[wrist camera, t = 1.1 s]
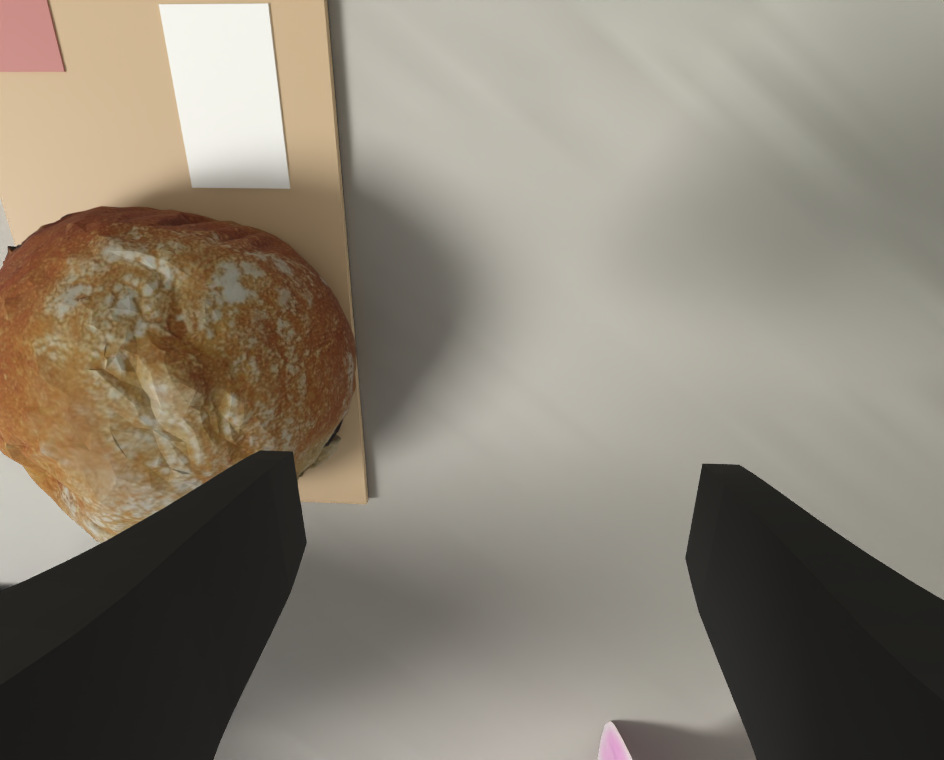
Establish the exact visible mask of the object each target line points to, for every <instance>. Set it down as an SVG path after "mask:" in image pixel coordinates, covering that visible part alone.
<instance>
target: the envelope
mask: <svg viewBox="0 0 944 760" xmlns="http://www.w3.org/2000/svg"><path fill="white" fill-rule="evenodd" d="M0 198H1V201H2V204H3V207H4V210H5V214H6V217H7V220H8V223H9V226H10V230H11V233H12V236H13V239H14V243H15V246H17V245H21V244H22V242H23V241H24V240H26V239H27V238H28V236H30V235H31V234H33V233H34V232H35V231H37V230H38V229H39V228H40V227H41V226H43V225H46V224H49V223H54V222H56V221H58V220H60V218H61V217H63V216H65V215H67V214H71V213H76V212H81V211H86V210H89V209H92V208H96V207H100V206H109V207H149V208H154V209H159V210H170V209H171V210H176V211H180V212H186V213H193V214H198V215H202V216H206V217H209V218H212V219H215V220H218V221H233V222H236V223H238V224H240V225H243V226H245V225H246V226H250V227H254V228H258V229H260V230H263V231H266V232H268V233H270V234H272V235H274V236H276V237H278V238H279V239H281V240H282V241H284V242H286V243H287V244H289V245H290V246H291V247H292V248H293V249H294V250H295V251H296V252H297V253H298V254H299V255H300V256H301V257H303V258H304V259H305V260H306V261H307V262H308V263H309V264H310V265H311V266H312V267H313V268H314V269H315V270H316V271H317V273H318V274H319V275H320V276H321V277H322V278H323V279H324V280H325V282H326V283H327V284H328V286H329V287H330V289H331V290H332V292H333V293H334V295H335V296H336V298H337V299H338V301H339V303H340V306H341V308H342V310H343V312H344V314H345V316H346V318H347V320H348V322H349V324H350V327H351V330H352V333H353V335H354V338H355V330H354V318H353V306H352V294H351V282H350V270H349V258H348V246H347V234H346V222H345V210H344V198H343V186H342V173H341V161H340V149H339V137H338V125H337V113H336V101H335V89H334V77H333V65H332V53H331V41H330V29H329V17H328V5H327V0H0ZM355 344H356V342H355ZM355 377H356V389H355V392H354V393H353V396H352V400H351V405H350V409H349V412H348V414H347V415H346V416H345V417H344V418H343V422H342V424H341V427H340V430H339V432H338V433H337V435H338V436H339V437H340V438H341V441H340V444H339V446H338V448H337V450H336V452H335V453H334V454H333V455H332V456H331V457H330V458H329V459H328V460H326V461H325V462H323V463H322V464H320V465H318V466H316V467H315V468H311V469H308V470H306V472H305V473H304V475H303V476H302V477H299V480H298V489H299V496H300V502H322V503H347V504H367V502H368V487H367V475H366V463H365V451H364V439H363V427H362V415H361V403H360V391H359V378H358V366H357V357H356V371H355Z"/></svg>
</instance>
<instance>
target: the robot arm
mask: <svg viewBox="0 0 944 760" xmlns="http://www.w3.org/2000/svg"><path fill="white" fill-rule="evenodd" d="M305 546H306V536H305V529H304V523H303V516H302V509H301V502H300V496H299V489H298V482H297V476H296V469H295V462H294V455H293V451H264V450H260V451H258V452H256V453H254V454H252V455H250V456H248V457H246V458H244V459H243V460H241V461H239V462H238V463H236V464H234V465H233V466H231V467H229V468H228V469H226V470H224V471H223V472H221V473H220V474H218V475H216V476H215V477H213V478H212V479H210V480H208V481H207V482H205V483H204V484H202V485H200V486H199V487H197V488H195V489H194V490H192V491H191V492H189V493H187V494H186V495H184V496H182V497H181V498H179V499H178V500H176V501H174V502H173V503H171V504H169V505H168V506H166V507H164V508H163V509H161V510H159V511H158V512H156V513H154V514H152V515H151V516H149V517H147V518H145V519H144V520H142V521H140V522H138V523H137V524H135V525H133V526H131V527H129V528H128V529H126V530H124V531H122V532H121V533H119V534H117V535H115V536H114V537H112V538H110V539H108V540H107V541H105V542H103V543H101V544H99V545H97V546H95V547H93V548H92V549H90V550H88V551H86V552H84V553H82V554H80V555H78V556H76V557H74V558H72V559H70V560H68V561H66V562H64V563H62V564H59V565H57V566H55V567H53V568H51V569H49V570H47V571H45V572H43V573H41V574H38V575H36V576H34V577H32V578H30V579H28V580H26V581H23V582H21V583H19V584H17V585H14V586H12V587H10V588H7V589H5V590H2V591H0V760H213V759H214V756H215V754H216V751H217V748H218V746H219V743H220V740H221V738H222V736H223V733H224V731H225V729H226V727H227V724H228V722H229V720H230V717H231V715H232V713H233V711H234V709H235V707H236V705H237V702H238V700H239V698H240V696H241V694H242V692H243V690H244V688H245V686H246V684H247V682H248V680H249V678H250V676H251V674H252V672H253V670H254V668H255V666H256V663H257V661H258V659H259V657H260V655H261V653H262V651H263V649H264V647H265V645H266V643H267V641H268V639H269V637H270V635H271V633H272V631H273V629H274V626H275V624H276V622H277V620H278V618H279V616H280V614H281V612H282V610H283V608H284V605H285V603H286V601H287V599H288V597H289V595H290V592H291V589H292V586H293V584H294V581H295V578H296V575H297V572H298V569H299V566H300V562H301V559H302V556H303V553H304V550H305ZM686 562H687V567H688V571H689V575H690V579H691V584H692V588H693V592H694V595H695V599H696V603H697V607H698V610H699V613H700V616H701V619H702V621H703V624H704V626H705V629H706V632H707V634H708V637H709V639H710V642H711V644H712V647H713V649H714V652H715V655H716V657H717V660H718V662H719V665H720V667H721V670H722V672H723V675H724V677H725V680H726V682H727V684H728V687H729V689H730V692H731V694H732V697H733V699H734V702H735V704H736V707H737V709H738V712H739V714H740V717H741V719H742V722H743V724H744V727H745V729H746V732H747V734H748V737H749V739H750V742H751V745H752V748H753V750H754V753H755V756H756V759H757V760H944V600H942V599H941V598H939V597H937V596H935V595H934V594H932V593H930V592H928V591H927V590H925V589H923V588H922V587H920V586H918V585H917V584H915V583H913V582H912V581H910V580H908V579H907V578H905V577H904V576H902V575H900V574H899V573H897V572H896V571H894V570H893V569H891V568H889V567H888V566H886V565H885V564H883V563H882V562H880V561H878V560H877V559H875V558H874V557H872V556H870V555H869V554H867V553H866V552H864V551H863V550H861V549H860V548H858V547H857V546H855V545H854V544H852V543H851V542H849V541H848V540H846V539H845V538H844V537H842V536H841V535H839V534H838V533H836V532H835V531H833V530H832V529H830V528H829V527H828V526H826V525H825V524H823V523H822V522H820V521H819V520H818V519H816V518H815V517H813V516H812V515H811V514H809V513H808V512H806V511H805V510H804V509H802V508H801V507H799V506H798V505H797V504H795V503H794V502H792V501H791V500H790V499H788V498H787V497H786V496H784V495H783V494H781V493H780V492H779V491H777V490H776V489H774V488H773V487H772V486H770V485H769V484H767V483H766V482H765V481H763V480H762V479H760V478H759V477H757V476H756V475H754V474H753V473H751V472H750V471H748V470H747V469H745V468H743V467H742V466H740V465H729V464H702V469H701V475H700V480H699V486H698V491H697V497H696V502H695V508H694V513H693V519H692V524H691V530H690V535H689V541H688V546H687V552H686Z"/></svg>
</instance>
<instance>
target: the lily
mask: <svg viewBox="0 0 944 760" xmlns="http://www.w3.org/2000/svg"><path fill="white" fill-rule="evenodd" d="M598 760H633V759H632V757H631V755H630V753H629V751H628V749H627V747H626V745H625V743H624V741H623V739H622V738H621V736H620V734H619V732H618V730H617V728H616V727H615V725H614V724H613V723H612V722H611V721H609V722H608V723H606V724H605V725H604V729H603V733H602V736H601V741H600V747H599V753H598Z"/></svg>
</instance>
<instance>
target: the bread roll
mask: <svg viewBox="0 0 944 760" xmlns="http://www.w3.org/2000/svg"><path fill="white" fill-rule="evenodd" d="M356 357H357V354H356V344H355V338H354V335H353V333H352V330H351V327H350V324H349V322H348V320H347V318H346V316H345V314H344V312H343V310H342V308H341V306H340V303H339V301H338V299H337V298H336V296H335V295H334V293H333V292H332V290H331V289H330V287H329V286H328V284H327V283H326V282H325V280H324V279H323V278H322V277H321V276H320V275H319V274H318V273H317V271H316V270H315V269H314V268H313V267H312V266H311V265H310V264H309V263H308V262H307V261H306V260H305V259H304V258H303V257H301V256H300V255H299V254H298V253H297V252H296V251H295V250H294V249H293V248H292V247H291V246H290V245H289V244H287V243H286V242H284V241H282V240H281V239H279V238H278V237H276V236H274V235H272V234H270V233H268V232H266V231H263V230H260V229H258V228H254V227H250V226H246V225H245V226H243V225H240V224H238V223H236V222H233V221H218V220H215V219H212V218H209V217H206V216H202V215H198V214H193V213H186V212H180V211H176V210H171V209H170V210H159V209H154V208H149V207H109V206H100V207H96V208H92V209H89V210H86V211H81V212H76V213H71V214H67V215H65V216H63V217H61V218H60V220H58V221H56V222H54V223H49V224H46V225H43V226H41V227H40V228H39V229H38V230H37V231H35V232H34V233H33V234H31V235H30V236H28V238H27V239H26V240H24V241H23V242H22V244H21V245H17V246H16V247H12V246H8V254H7V256H6V258H5V261H3V266H2V268H1V270H0V450H1V451H2V453H3V454H4V455H6V456H7V457H9V458H11V459H12V460H14V461H16V462H18V463H19V464H21V465H23V467H24V468H25V469H26V471H27V472H28V474H29V475H30V477H31V478H32V479H33V480H34V481H35V482H36V484H37V485H38V486H39V487H40V488H41V489H42V490H44V491H45V492H46V493H47V494H48V495H49V496H50V497H51V498H52V499H53V500H54V501H55V502H56V503H57V504H58V506H59V507H60V508H61V509H62V510H63V511H64V512H65V513H66V514H67V515H68V516H69V517H70V518H72V519H73V520H74V521H75V522H76V523H77V524H78V525H79V526H81V528H82V529H84V530H85V531H86V532H87V533H89V534H90V535H91V536H92V537H93V538H94V539H95V540H96V541H98V542H102V543H103V542H105V541H107V540H108V539H110V538H112V537H114V536H115V535H117V534H119V533H121V532H122V531H124V530H126V529H128V528H129V527H131V526H133V525H135V524H137V523H138V522H140V521H142V520H144V519H145V518H147V517H149V516H151V515H152V514H154V513H156V512H158V511H159V510H161V509H163V508H164V507H166V506H168V505H169V504H171V503H173V502H174V501H176V500H178V499H179V498H181V497H182V496H184V495H186V494H187V493H189V492H191V491H192V490H194V489H195V488H197V487H199V486H200V485H202V484H204V483H205V482H207V481H208V480H210V479H212V478H213V477H215V476H216V475H218V474H220V473H221V472H223V471H224V470H226V469H228V468H229V467H231V466H233V465H234V464H236V463H238V462H239V461H241V460H243V459H244V458H246V457H248V456H250V455H252V454H254V453H256V452H258V451H260V450H264V451H293V455H294V462H295V469H296V476H297V482H298V480H299V477H302V476H303V475H304V473H305V472H306V470H308V469H311V468H315V467H316V466H318V465H320V464H322V463H323V462H325V461H326V460H328V459H329V458H330V457H331V456H332V455H333V454H334V453H335V452H336V450H337V448H338V446H339V444H340V441H341V438H340V437H339V436H338V435H337V433H338V432H339V430H340V427H341V424H342V422H343V418H344V417H345V416H346V415H347V414H348V412H349V409H350V405H351V400H352V396H353V393H354V392H355V389H356V377H355V371H356Z"/></svg>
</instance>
